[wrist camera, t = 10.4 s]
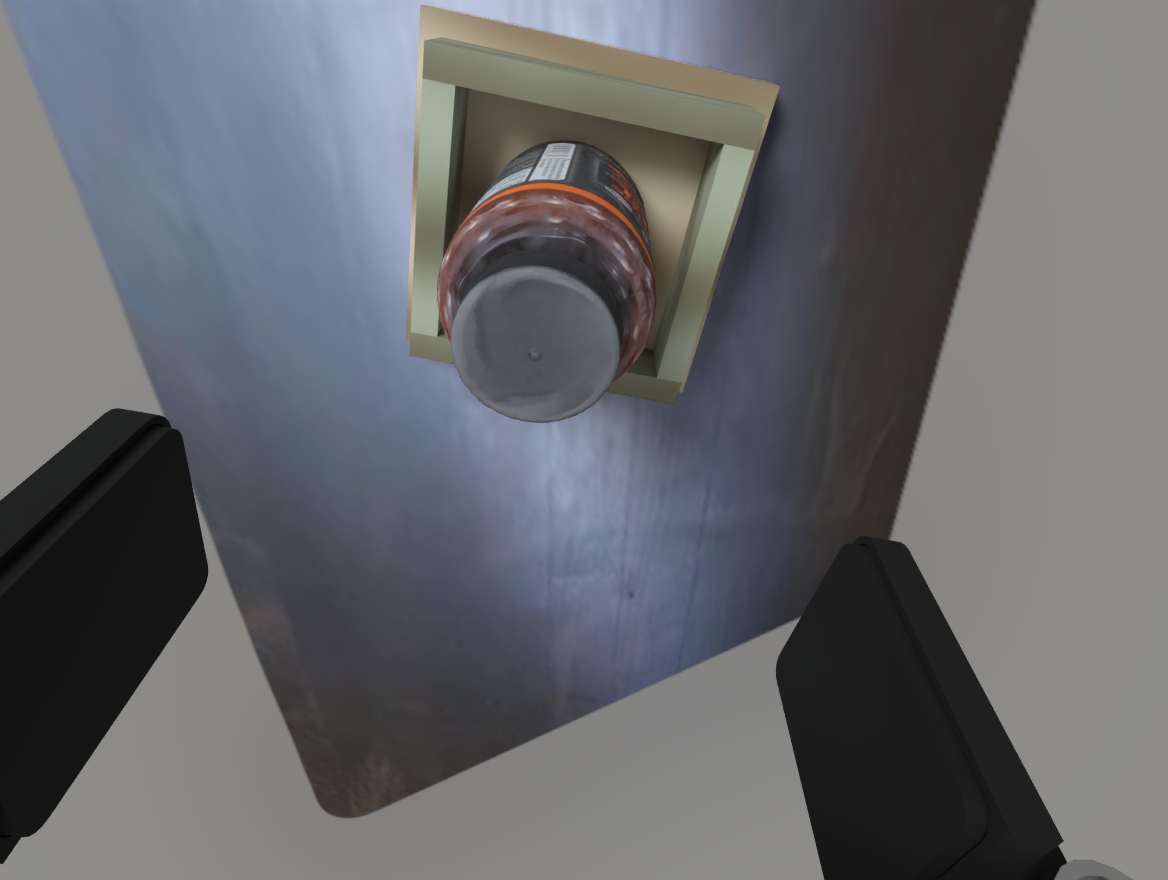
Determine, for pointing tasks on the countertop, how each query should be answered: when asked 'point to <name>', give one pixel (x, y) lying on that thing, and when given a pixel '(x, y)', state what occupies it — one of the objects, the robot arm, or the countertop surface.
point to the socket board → (599, 118)
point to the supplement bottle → (549, 283)
